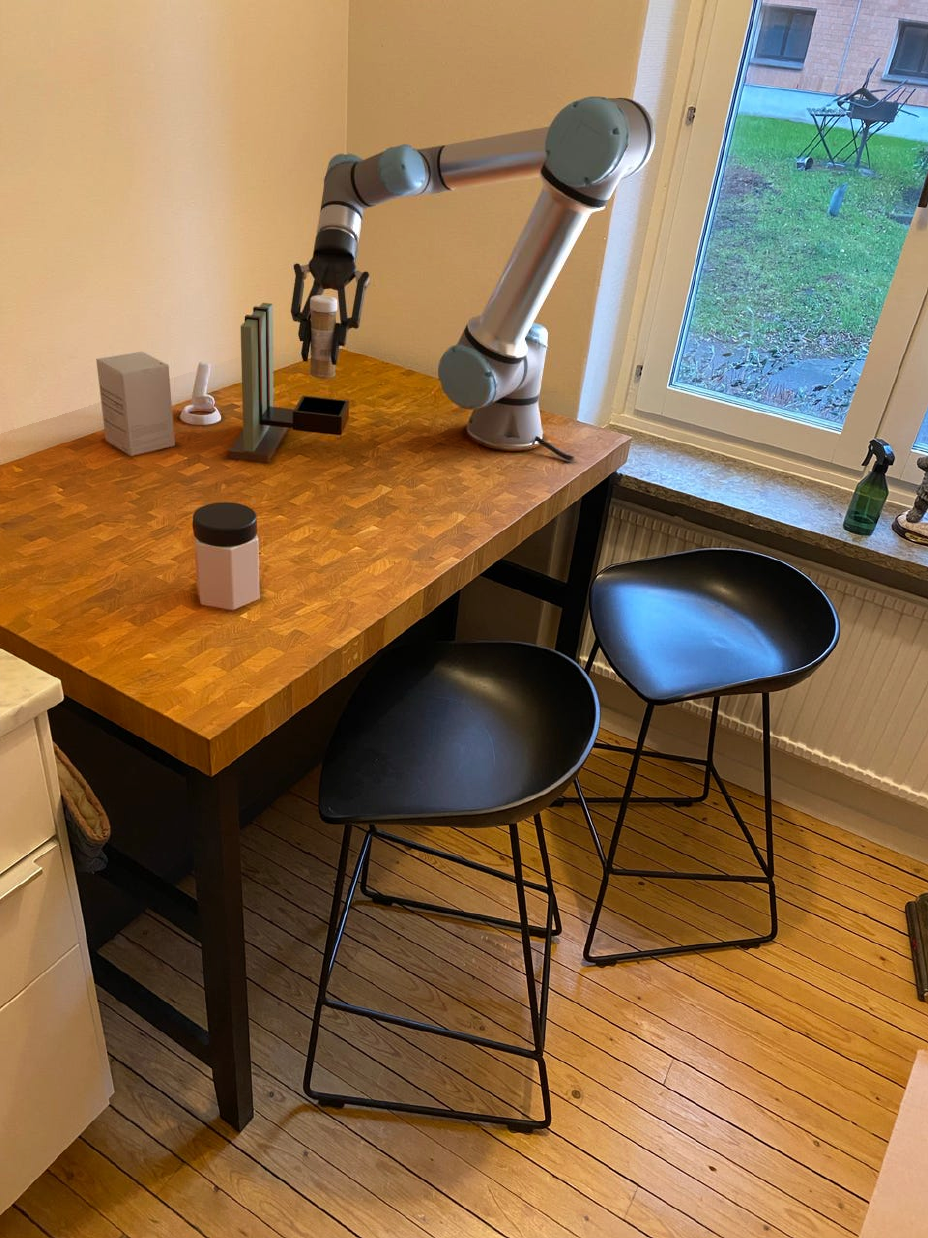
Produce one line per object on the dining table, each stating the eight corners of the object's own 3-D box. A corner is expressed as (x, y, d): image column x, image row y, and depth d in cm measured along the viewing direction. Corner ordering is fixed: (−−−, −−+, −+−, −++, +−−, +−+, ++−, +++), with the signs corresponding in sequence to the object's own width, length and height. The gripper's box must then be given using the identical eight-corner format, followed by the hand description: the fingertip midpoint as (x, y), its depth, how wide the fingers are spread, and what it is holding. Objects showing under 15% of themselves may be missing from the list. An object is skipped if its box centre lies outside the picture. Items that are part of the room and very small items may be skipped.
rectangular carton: (149, 430, 173) (143, 349, 165) (176, 446, 168) (170, 364, 160) (103, 440, 167) (94, 357, 159) (129, 457, 162) (121, 372, 155)
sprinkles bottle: (335, 371, 168) (337, 295, 161) (335, 380, 165) (337, 302, 157) (309, 370, 168) (310, 293, 161) (308, 378, 164) (309, 300, 157)
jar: (235, 572, 133) (232, 495, 127) (273, 594, 129) (272, 516, 123) (182, 593, 127) (176, 513, 121) (219, 617, 123) (216, 536, 117)
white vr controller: (226, 378, 186) (230, 368, 179) (217, 436, 185) (220, 428, 178) (187, 368, 184) (190, 358, 177) (177, 428, 183) (179, 419, 176)
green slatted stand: (287, 428, 181) (287, 304, 168) (267, 462, 166) (266, 329, 154) (251, 424, 181) (249, 300, 168) (228, 458, 166) (223, 324, 154)
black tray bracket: (348, 418, 175) (352, 315, 165) (341, 435, 167) (344, 329, 157) (257, 408, 174) (255, 304, 164) (246, 424, 167) (243, 317, 157)
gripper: (387, 257, 170) (370, 375, 165) (291, 246, 170) (272, 364, 164) (385, 232, 162) (367, 354, 157) (285, 220, 162) (264, 342, 157)
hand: (318, 358), depth 161 cm, fingers closed on sprinkles bottle, 4 cm apart
